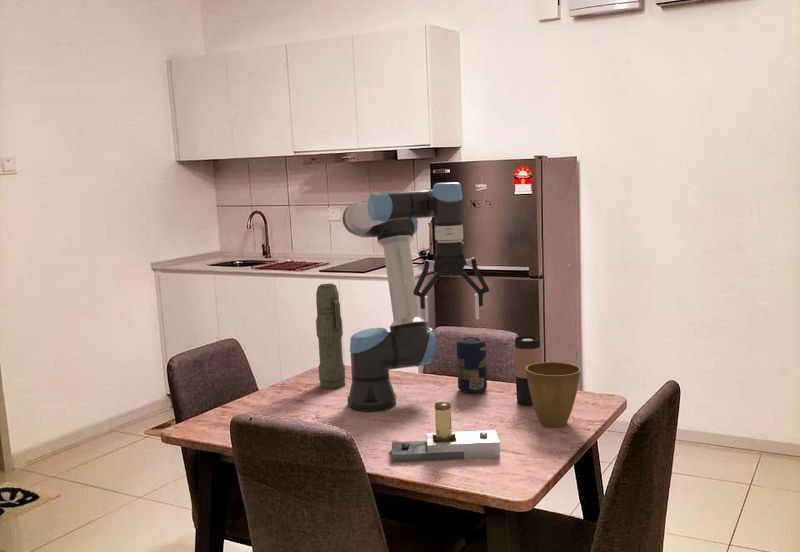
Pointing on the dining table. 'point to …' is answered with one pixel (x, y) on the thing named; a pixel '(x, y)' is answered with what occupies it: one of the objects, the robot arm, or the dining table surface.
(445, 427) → the pin
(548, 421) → the plant pot
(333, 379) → the thermos
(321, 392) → the dining table surface
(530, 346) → the travel mug
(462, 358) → the canister
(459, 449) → the door bolt
